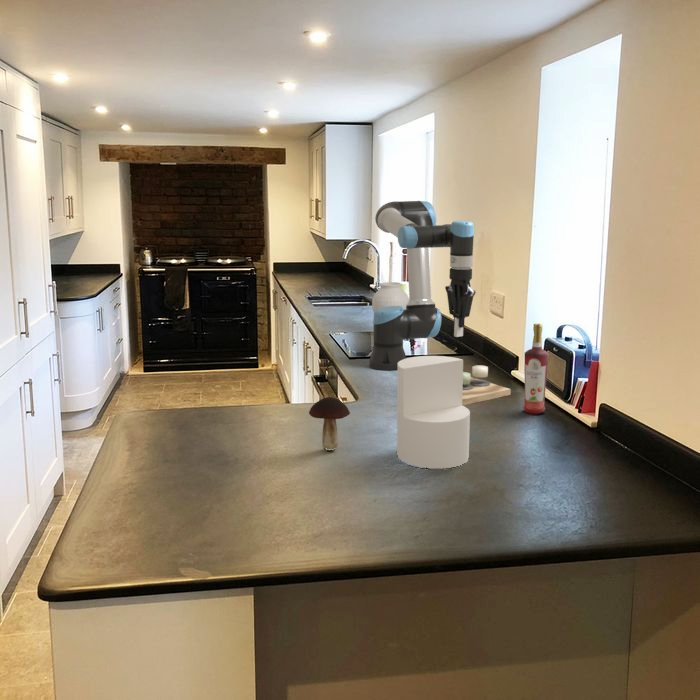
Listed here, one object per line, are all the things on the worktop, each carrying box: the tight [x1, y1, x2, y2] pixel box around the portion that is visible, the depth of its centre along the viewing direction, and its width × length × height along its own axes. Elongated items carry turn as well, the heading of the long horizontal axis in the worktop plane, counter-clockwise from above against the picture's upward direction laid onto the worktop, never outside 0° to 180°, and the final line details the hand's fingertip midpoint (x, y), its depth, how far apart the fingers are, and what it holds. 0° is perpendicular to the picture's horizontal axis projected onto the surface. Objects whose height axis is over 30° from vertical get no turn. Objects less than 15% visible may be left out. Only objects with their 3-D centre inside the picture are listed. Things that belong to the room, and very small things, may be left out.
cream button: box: [471, 364, 489, 379], centre depth 250 cm, size 5×5×3 cm
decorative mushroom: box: [308, 396, 351, 449], centre depth 192 cm, size 11×11×15 cm
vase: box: [371, 281, 410, 314], centre depth 343 cm, size 18×18×25 cm
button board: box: [462, 376, 512, 406], centre depth 247 cm, size 22×24×3 cm
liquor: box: [522, 323, 550, 415], centre depth 222 cm, size 7×7×28 cm
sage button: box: [463, 371, 472, 384], centre depth 246 cm, size 5×5×3 cm
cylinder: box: [396, 355, 471, 469], centre depth 186 cm, size 19×19×25 cm
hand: (458, 336), depth 247 cm, fingers closed
